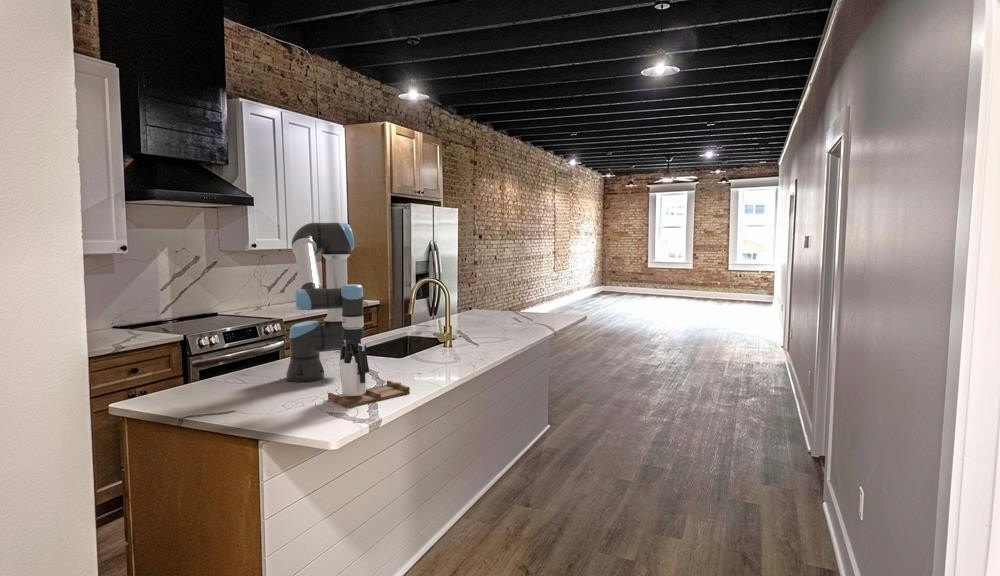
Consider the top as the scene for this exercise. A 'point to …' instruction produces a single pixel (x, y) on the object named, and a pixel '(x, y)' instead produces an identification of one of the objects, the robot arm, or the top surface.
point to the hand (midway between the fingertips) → (354, 388)
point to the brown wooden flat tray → (371, 395)
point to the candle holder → (350, 378)
